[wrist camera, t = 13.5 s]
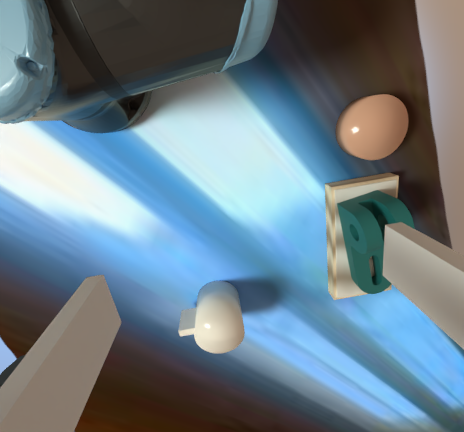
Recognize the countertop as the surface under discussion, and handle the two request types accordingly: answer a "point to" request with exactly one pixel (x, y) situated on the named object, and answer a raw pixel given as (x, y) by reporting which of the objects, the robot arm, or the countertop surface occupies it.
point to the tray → (336, 251)
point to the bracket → (369, 235)
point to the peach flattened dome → (372, 126)
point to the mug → (215, 318)
